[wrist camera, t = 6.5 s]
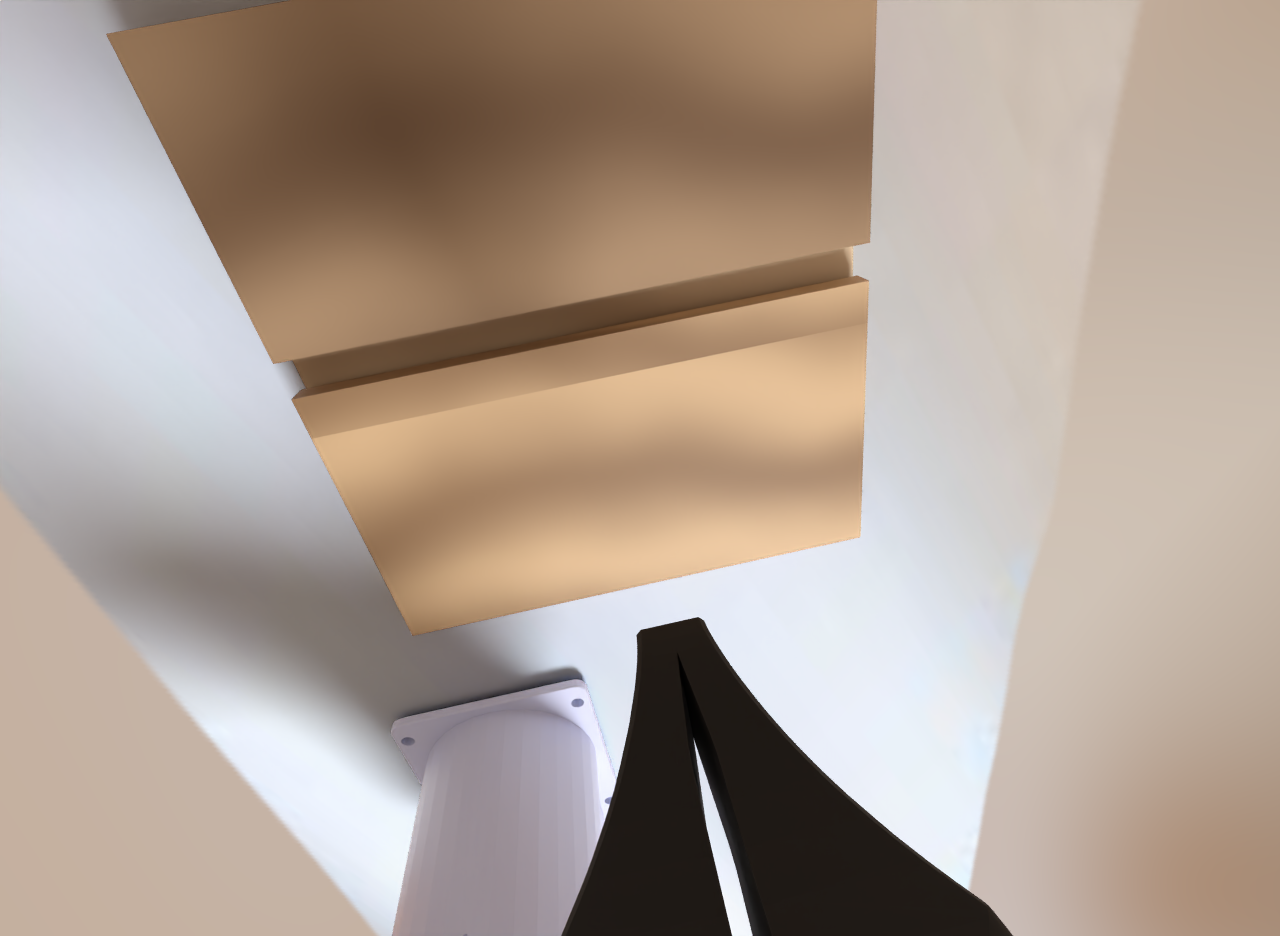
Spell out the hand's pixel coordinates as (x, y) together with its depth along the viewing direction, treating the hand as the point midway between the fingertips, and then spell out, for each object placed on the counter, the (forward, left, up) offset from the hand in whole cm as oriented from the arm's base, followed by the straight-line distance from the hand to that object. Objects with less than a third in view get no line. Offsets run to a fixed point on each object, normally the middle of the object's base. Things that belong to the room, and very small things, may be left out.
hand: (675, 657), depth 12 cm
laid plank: (+9, 0, -8) cm, 12 cm away
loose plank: (0, 0, -8) cm, 8 cm away
